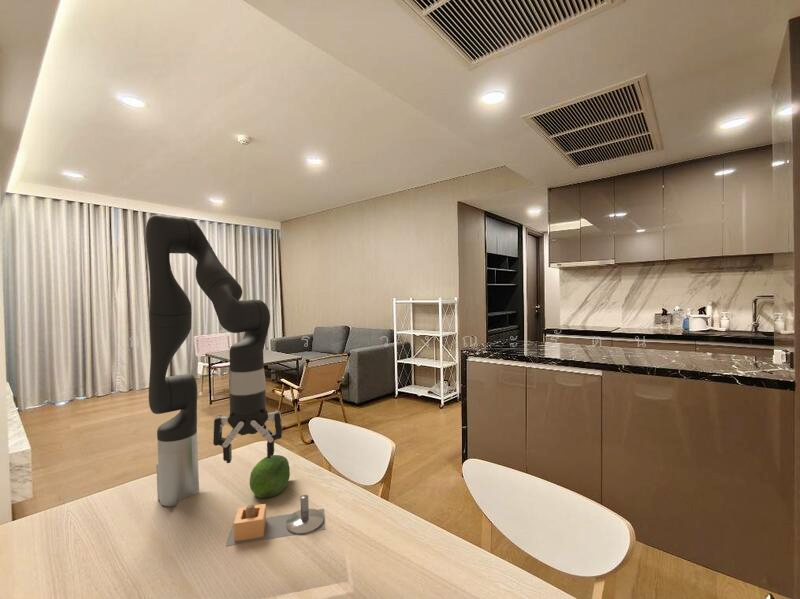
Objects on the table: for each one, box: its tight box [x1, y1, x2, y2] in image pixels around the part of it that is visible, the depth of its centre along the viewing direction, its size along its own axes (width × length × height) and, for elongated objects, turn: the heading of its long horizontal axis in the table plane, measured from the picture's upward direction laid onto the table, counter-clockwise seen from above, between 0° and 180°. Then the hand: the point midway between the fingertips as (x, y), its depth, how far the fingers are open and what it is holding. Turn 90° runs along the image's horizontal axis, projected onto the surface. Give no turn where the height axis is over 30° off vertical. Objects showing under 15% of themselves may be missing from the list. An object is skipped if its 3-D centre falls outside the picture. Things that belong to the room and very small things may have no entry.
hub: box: [286, 494, 325, 535], centre depth 87 cm, size 9×9×6 cm
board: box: [225, 508, 326, 547], centre depth 86 cm, size 21×8×2 cm, turn 104°
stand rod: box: [245, 504, 255, 519], centre depth 84 cm, size 2×2×6 cm
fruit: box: [249, 454, 291, 499], centre depth 103 cm, size 15×10×10 cm, turn 175°
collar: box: [233, 503, 267, 542], centre depth 84 cm, size 6×6×4 cm
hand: (249, 459), depth 84 cm, fingers open, 8 cm apart
